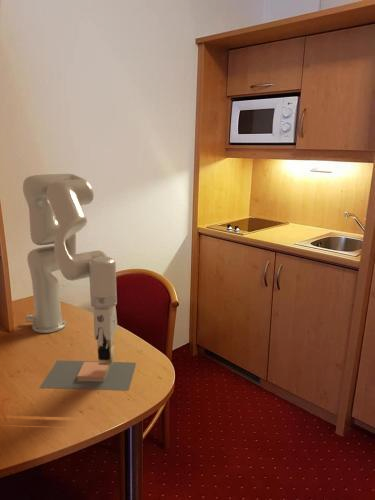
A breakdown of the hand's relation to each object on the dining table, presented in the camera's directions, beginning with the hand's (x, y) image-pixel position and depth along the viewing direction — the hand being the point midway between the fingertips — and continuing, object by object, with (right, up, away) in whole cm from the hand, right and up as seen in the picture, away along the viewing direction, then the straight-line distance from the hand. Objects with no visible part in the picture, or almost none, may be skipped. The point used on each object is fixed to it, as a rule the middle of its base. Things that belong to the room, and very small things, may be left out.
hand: (106, 354), depth 121 cm
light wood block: (0, -2, +1) cm, 2 cm away
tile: (-8, -5, +2) cm, 10 cm away
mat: (-5, -7, +1) cm, 9 cm away
